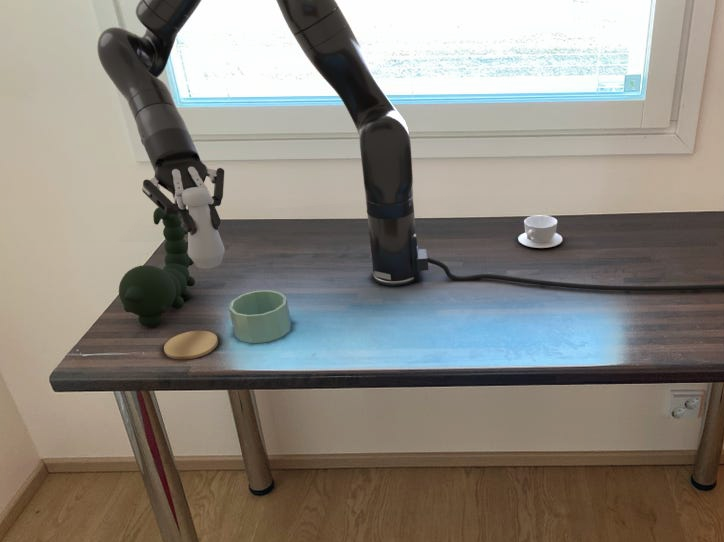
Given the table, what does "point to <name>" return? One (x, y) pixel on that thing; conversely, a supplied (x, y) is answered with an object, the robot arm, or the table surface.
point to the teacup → (540, 232)
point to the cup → (260, 316)
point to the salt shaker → (202, 230)
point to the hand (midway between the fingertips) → (205, 230)
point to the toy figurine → (159, 277)
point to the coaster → (190, 345)
